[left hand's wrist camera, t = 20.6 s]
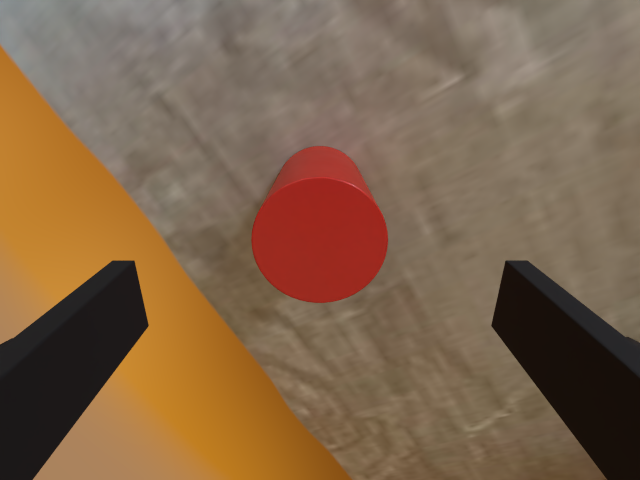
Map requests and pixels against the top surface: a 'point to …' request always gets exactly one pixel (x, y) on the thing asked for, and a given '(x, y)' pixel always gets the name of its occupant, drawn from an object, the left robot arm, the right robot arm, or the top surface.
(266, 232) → the tin
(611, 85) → the top surface
